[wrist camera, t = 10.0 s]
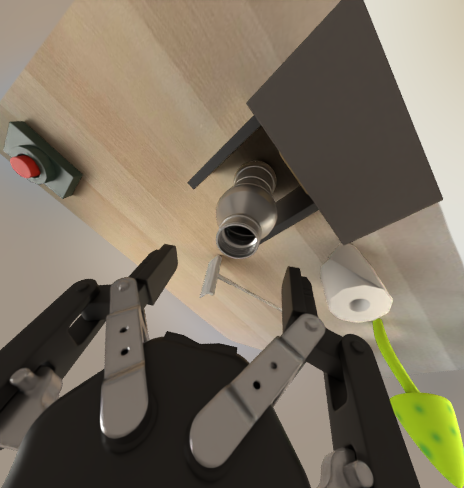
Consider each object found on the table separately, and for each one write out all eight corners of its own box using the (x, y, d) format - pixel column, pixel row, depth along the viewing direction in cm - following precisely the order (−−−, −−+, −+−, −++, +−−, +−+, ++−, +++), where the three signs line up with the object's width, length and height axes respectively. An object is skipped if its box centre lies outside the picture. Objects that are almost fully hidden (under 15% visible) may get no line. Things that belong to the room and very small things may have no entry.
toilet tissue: (342, 231, 35) (359, 260, 28) (379, 275, 38) (403, 311, 31) (299, 256, 39) (304, 287, 32) (336, 293, 43) (348, 328, 36)
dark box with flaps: (256, 225, 37) (244, 291, 23) (205, 165, 33) (152, 203, 19) (359, 157, 28) (443, 199, 14) (308, 61, 24) (357, -17, 10)
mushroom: (380, 335, 48) (458, 499, 27) (349, 324, 48) (404, 481, 27) (408, 317, 43) (528, 500, 23) (373, 304, 43) (463, 477, 22)
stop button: (19, 164, 36) (8, 166, 34) (23, 150, 34) (11, 152, 32) (37, 179, 37) (28, 182, 35) (42, 167, 35) (32, 169, 33)
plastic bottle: (233, 161, 32) (188, 212, 15) (274, 153, 30) (274, 200, 14) (240, 199, 35) (209, 272, 19) (278, 193, 33) (280, 270, 17)
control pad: (16, 148, 38) (-9, 152, 35) (23, 121, 35) (-4, 121, 31) (71, 195, 42) (54, 202, 38) (83, 174, 38) (65, 180, 35)
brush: (288, 306, 55) (291, 340, 49) (208, 261, 45) (198, 298, 39) (298, 302, 53) (303, 337, 46) (217, 254, 43) (209, 291, 36)
